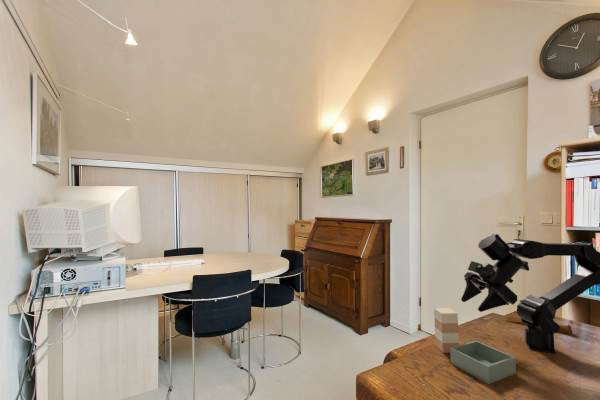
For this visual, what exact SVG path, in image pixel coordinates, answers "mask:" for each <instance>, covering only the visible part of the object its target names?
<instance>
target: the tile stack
mask: <svg viewBox="0 0 600 400" xmlns="http://www.w3.org/2000/svg"><path fill="white" fill-rule="evenodd" d="M433 312H434V313H433V315H434V317H433V318H434V341H435V342H434V344H435V346H436V348H438V350H439V351H440V352H441V353H443V354H445V353H446V354H447V353H449V354H450V348H452V347H456V346H459V345H460V341H459V319H458V318H459V317H458V315H459V314H458V312H456V311H455V310H454V309H452V308H451V307H434V308H433Z"/></svg>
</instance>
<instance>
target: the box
mask: <svg viewBox="0 0 600 400" xmlns="http://www.w3.org/2000/svg"><path fill="white" fill-rule="evenodd" d="M449 354H450V364H452V365H454V366H455V367H457V368H459V369H461V370H462V371H464V372H466V373H469V374H470V375H472V376H473V377H475V378H477V379H479V380H480V381H483V382H485V383H486V384H488V385H490V384H493V383H495V382H498V381H500V380H503V379H505V378H508V377H510V376H513V375H516V374H517V370H516V367H517V366H516V357H515V356H513V355H511V354H508V353H506V352H503V351H501V350H499V349H496V348H494V347H492V346H489V345H488V344H485V343H482V342H481V341H478V340H473V341H470V342H466V343H462V344H459V346H456V347H452V348H450V353H449Z"/></svg>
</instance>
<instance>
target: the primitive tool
mask: <svg viewBox="0 0 600 400" xmlns="http://www.w3.org/2000/svg"><path fill="white" fill-rule="evenodd" d="M505 322H508V323H512V324H516V325H517V324H518V325H521V326H522V325H523V326H526V324H525V323H522V321H521V318H518V317H511V316H509V317H507V318H506V319H505ZM558 325H559V326H560V329H559V333H561V334H566V335H568V336H572V335H573V330H572V327H571V325H570V324H567V325H563V324H562V325H561V324H558Z"/></svg>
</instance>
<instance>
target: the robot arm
mask: <svg viewBox="0 0 600 400" xmlns="http://www.w3.org/2000/svg"><path fill="white" fill-rule="evenodd" d="M477 246H478V248H479V249H480V250H481V251H482V252H483V253H484V254H485V255H486V256H487V257H488V258H489V259H490V260H492V261H497V262H496V263H494V265H493V264H490V263H487V262H484V263H479V262H477V261H473V260H471V261H470V263H469V264H468V265H469V266H468V268H467V270H468V271H469V272H466V273H465V274H464V275H463V278H464V281H465V283H466V284H465V286H466V287H465V288H464V289H465V290H464V291H463V295H462V296H461V299H460V300H461V301H462V302H463V303H466V302H467V301H469V300H471V299H473V298H475V297H476V296H478V295H480V294H481V293H482V292H483V290H485V289H487V295H486V297H485V298H484V300H482V302H481V304H480V305H479V306H478V308H477V311H478V312H480V313H482V312H485V311H488V310H489V311H490V310H492V309H495V308H498V307H502V306H509V305H510V304H511V305H515V304H516V303H517V302H518V295H517V294H516V293H515V292H513V291H512V289H511V288H510V287H509V286H507V284H508V283H509V284H512V283H513V282H514V280H513V277H514V276H516V274H517V273H518V272H519V271H520V270H524V271H527V272H529V271H530V267H529V262H528V261H525V260H522V259H521V258H525V259H528V260H535V259H541V258H545V257H547V256H557V257H558V256H562V257H564V256H565V257H569V256H570V257H574V259H575V262H576V263H577V264H578V267H577V271H576V273H575V274H574V275H572V276H570V277H569V278H567V279H566V280H565V281H563V282H562V283H560V284H558V285H557V286H555V287H554V288H552V289H551V290H549V291H548V292H546V293H545V294H543V295H542V296H540V297H538V296H535V295H532V294H528V295H527V296H526V297H525V298H524V299H519V303H518V304H517V306H516V314H517V315H518V316H517V317H519V319H521V321H522V323H525V324H526V325H525V328H524V331H523V332H524V342H525V344H526V345H527V346H528V348H529V349H530V350H532V351H539V352H544V353H545V352H546V353H551V354H557V350H556V349H555V334H559V333H560V332H559V329H560V326H559V325H560V324H558V323H557V322H556V321H555V320H554V319H555V317H556V315H557V314H556V313H557V310H558V309H560V308H562V307H564V306H565V305H567V304H568V303H569V302H571V301H573V300H574V299H576V298H577V297H579V296H580V295H581V294H584V293H585V292H586V291H588V290H589V289H591V288H592V287H593V286H598V285H600V251H598V250H597V249H596V248H595V247H594V246H593V245H591V244H588V243H580V242H574V243H566V242H565V243H560V242H559V243H558V242H556V243H555V242H554V243H553V242H540V241H535V240H529V239H528V240H527V239H522V238H514V239H513V240H511V242H505V241H504V240H503V239H502V238H501V236H500V235H499V234H497V233H492V234H491V235H490V236H486V237H485V238H483V239H481V240H480V241H479V243H478V245H477ZM473 272H474V273H473Z"/></svg>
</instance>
